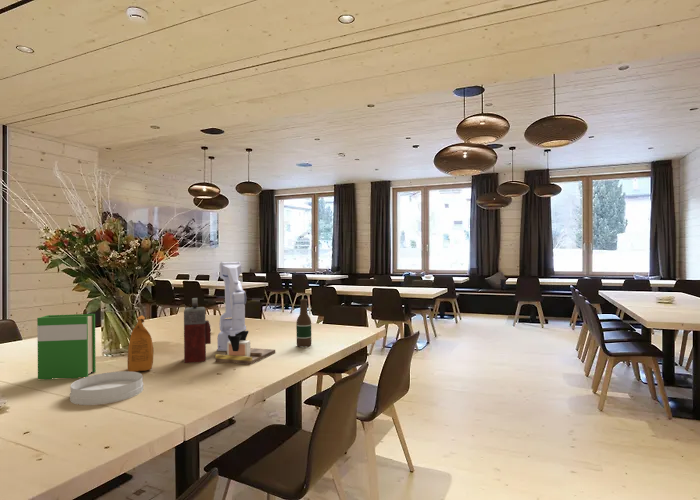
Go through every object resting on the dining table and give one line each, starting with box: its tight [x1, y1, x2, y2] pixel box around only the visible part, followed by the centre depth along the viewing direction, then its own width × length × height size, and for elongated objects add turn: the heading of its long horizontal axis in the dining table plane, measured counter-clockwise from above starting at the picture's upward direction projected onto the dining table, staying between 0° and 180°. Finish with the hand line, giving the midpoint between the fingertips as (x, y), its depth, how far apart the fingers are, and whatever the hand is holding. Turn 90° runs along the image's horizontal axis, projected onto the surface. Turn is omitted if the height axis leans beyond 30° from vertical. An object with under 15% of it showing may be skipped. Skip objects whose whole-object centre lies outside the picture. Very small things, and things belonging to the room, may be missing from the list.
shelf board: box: [214, 347, 276, 365], centre depth 196 cm, size 18×22×3 cm
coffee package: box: [127, 315, 155, 373], centre depth 177 cm, size 10×12×22 cm
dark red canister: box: [183, 297, 212, 364], centre depth 192 cm, size 9×11×28 cm
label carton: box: [227, 339, 251, 357], centre depth 190 cm, size 9×5×7 cm, turn 84°
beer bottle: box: [295, 298, 312, 348], centre depth 219 cm, size 8×8×24 cm
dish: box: [69, 370, 144, 406], centre depth 147 cm, size 22×22×5 cm
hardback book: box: [36, 313, 97, 380], centre depth 169 cm, size 18×7×24 cm, turn 98°
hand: (238, 349), depth 190 cm, fingers open, 7 cm apart
